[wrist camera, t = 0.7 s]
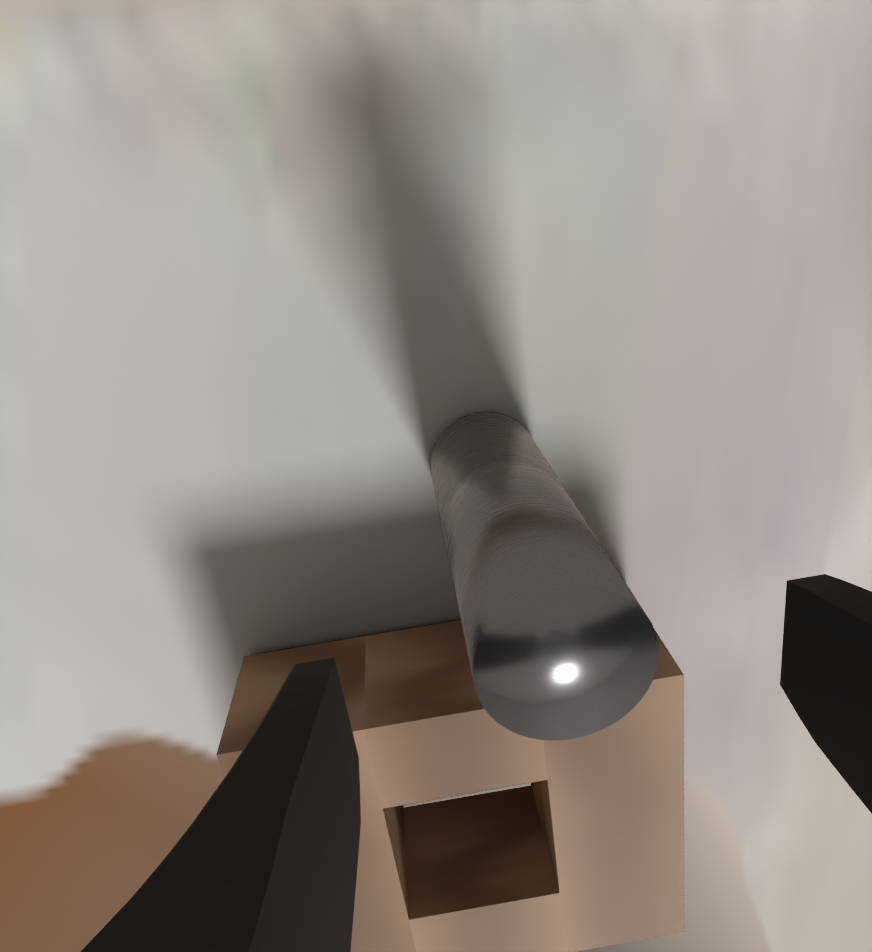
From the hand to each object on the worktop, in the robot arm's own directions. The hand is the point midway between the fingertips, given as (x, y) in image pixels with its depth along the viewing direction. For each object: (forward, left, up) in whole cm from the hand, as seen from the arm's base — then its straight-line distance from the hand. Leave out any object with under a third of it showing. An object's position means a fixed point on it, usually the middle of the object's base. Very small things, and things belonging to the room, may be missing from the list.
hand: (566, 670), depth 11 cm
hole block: (+2, +10, -9) cm, 14 cm away
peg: (0, 0, -9) cm, 9 cm away
